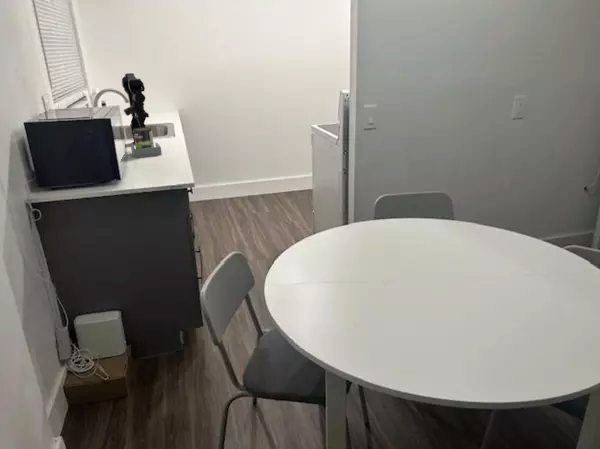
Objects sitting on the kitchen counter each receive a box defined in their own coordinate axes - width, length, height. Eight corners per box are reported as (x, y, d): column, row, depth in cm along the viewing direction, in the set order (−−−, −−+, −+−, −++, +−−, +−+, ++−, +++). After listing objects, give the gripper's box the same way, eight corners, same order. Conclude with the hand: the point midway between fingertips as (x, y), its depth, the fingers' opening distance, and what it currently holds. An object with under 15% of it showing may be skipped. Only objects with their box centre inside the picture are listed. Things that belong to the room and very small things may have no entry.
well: (131, 153, 270) (130, 145, 269) (158, 150, 276) (157, 142, 274) (134, 157, 259) (133, 149, 258) (161, 154, 265) (160, 146, 263)
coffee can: (145, 156, 262) (141, 131, 257) (132, 154, 267) (128, 129, 262) (159, 152, 271) (155, 128, 265) (146, 150, 275) (143, 126, 270)
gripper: (120, 101, 277) (124, 127, 283) (127, 104, 262) (131, 132, 268) (139, 99, 282) (143, 125, 288) (147, 102, 268) (150, 129, 273)
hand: (141, 128), depth 279 cm, fingers closed
